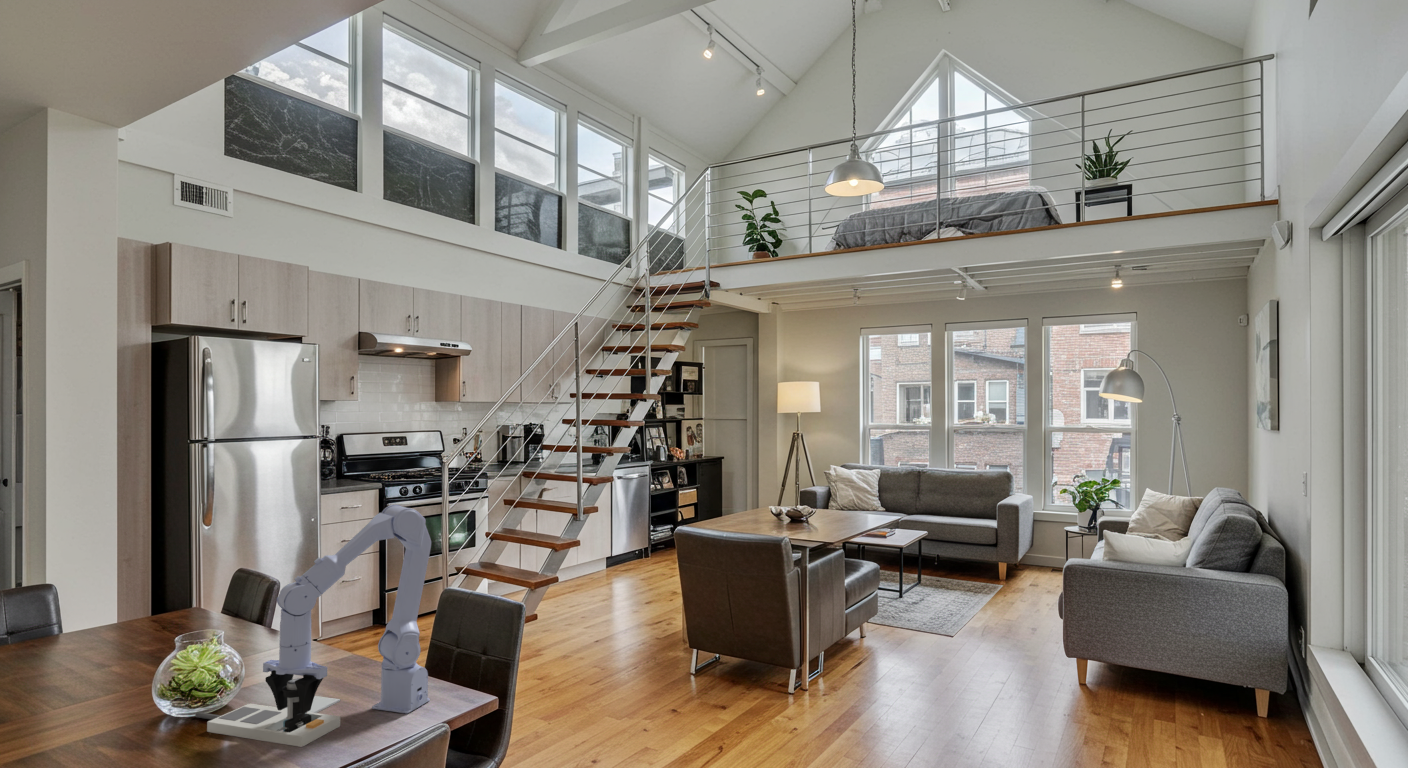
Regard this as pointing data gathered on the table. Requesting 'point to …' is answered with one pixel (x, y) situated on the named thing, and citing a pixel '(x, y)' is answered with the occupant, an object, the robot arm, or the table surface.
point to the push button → (293, 709)
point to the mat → (321, 703)
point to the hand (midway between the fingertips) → (294, 710)
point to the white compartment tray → (269, 725)
